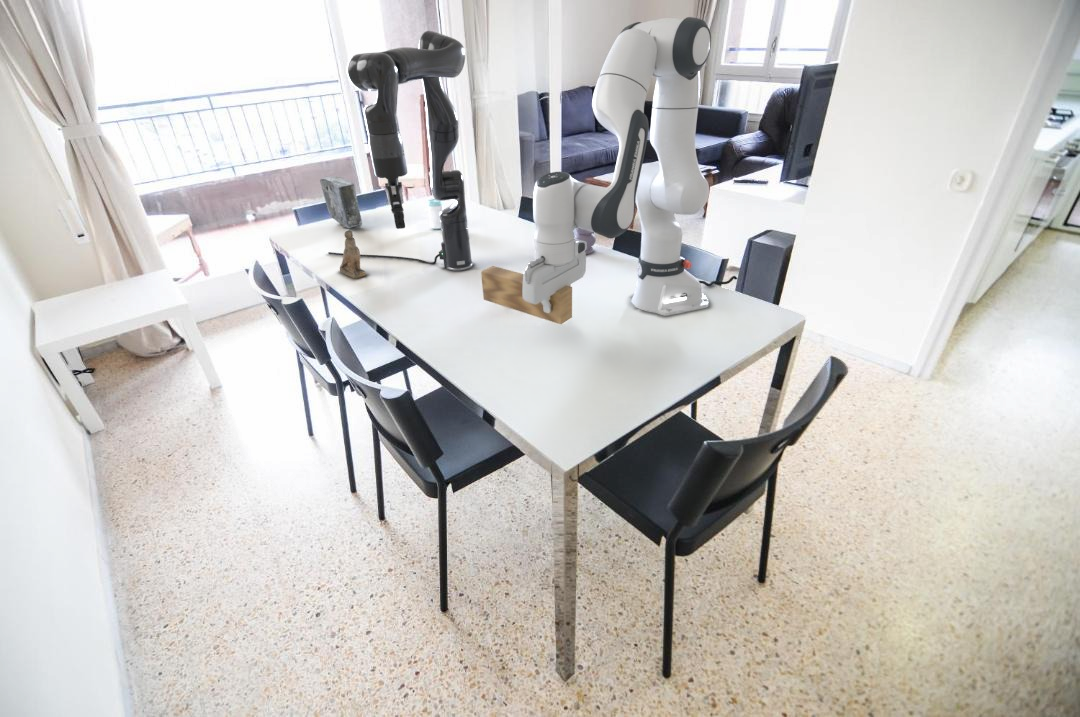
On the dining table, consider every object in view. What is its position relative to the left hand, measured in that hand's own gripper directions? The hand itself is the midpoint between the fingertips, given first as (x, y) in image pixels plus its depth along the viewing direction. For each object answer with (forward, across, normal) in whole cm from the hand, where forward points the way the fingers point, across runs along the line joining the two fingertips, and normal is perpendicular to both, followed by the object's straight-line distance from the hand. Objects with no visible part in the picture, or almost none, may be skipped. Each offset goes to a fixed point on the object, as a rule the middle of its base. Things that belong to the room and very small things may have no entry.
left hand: (400, 223), depth 124 cm
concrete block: (+30, +117, +26) cm, 124 cm away
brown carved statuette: (+30, +52, +21) cm, 64 cm away
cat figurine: (+30, +45, -65) cm, 84 cm away
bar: (+19, -18, -27) cm, 38 cm away
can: (+30, +98, -14) cm, 103 cm away
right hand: (+16, -26, -32) cm, 45 cm away
